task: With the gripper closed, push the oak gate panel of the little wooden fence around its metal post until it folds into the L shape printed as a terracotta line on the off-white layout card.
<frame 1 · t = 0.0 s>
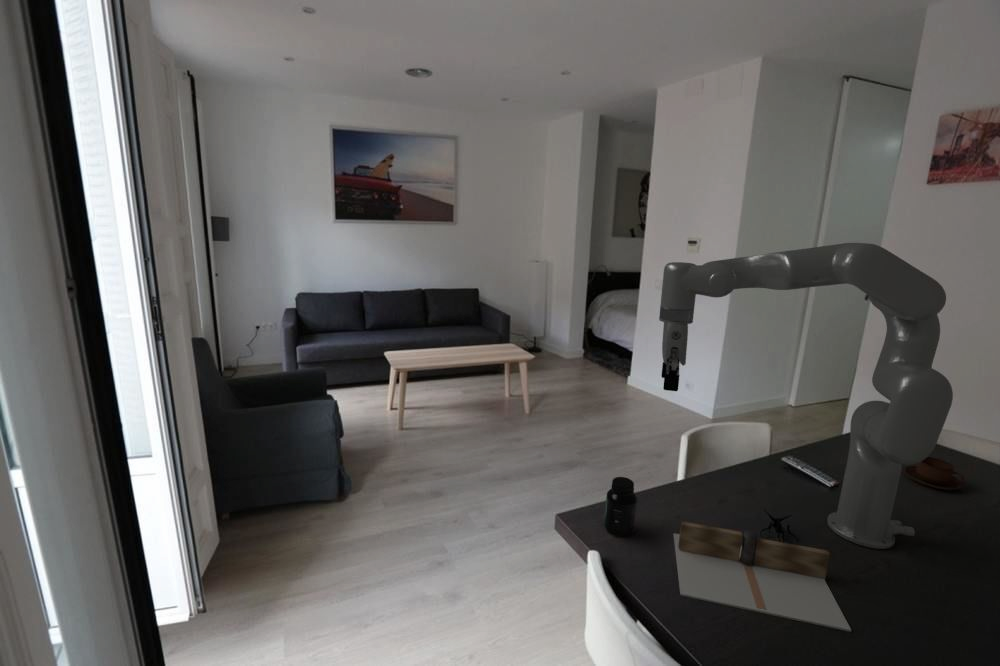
hand: (669, 384, 115), 31 cm above the table, tool pointing down, fingers open, 9 cm apart
cup and saucer: (931, 483, 133), on the table
creature: (777, 538, 107), on the table
gate panel: (709, 540, 99), point 4 cm above the table, hinge at 0.0°
fence: (746, 563, 98), resting on layout card
layout card: (750, 576, 94), on the table
supplement bottle: (619, 529, 109), on the table
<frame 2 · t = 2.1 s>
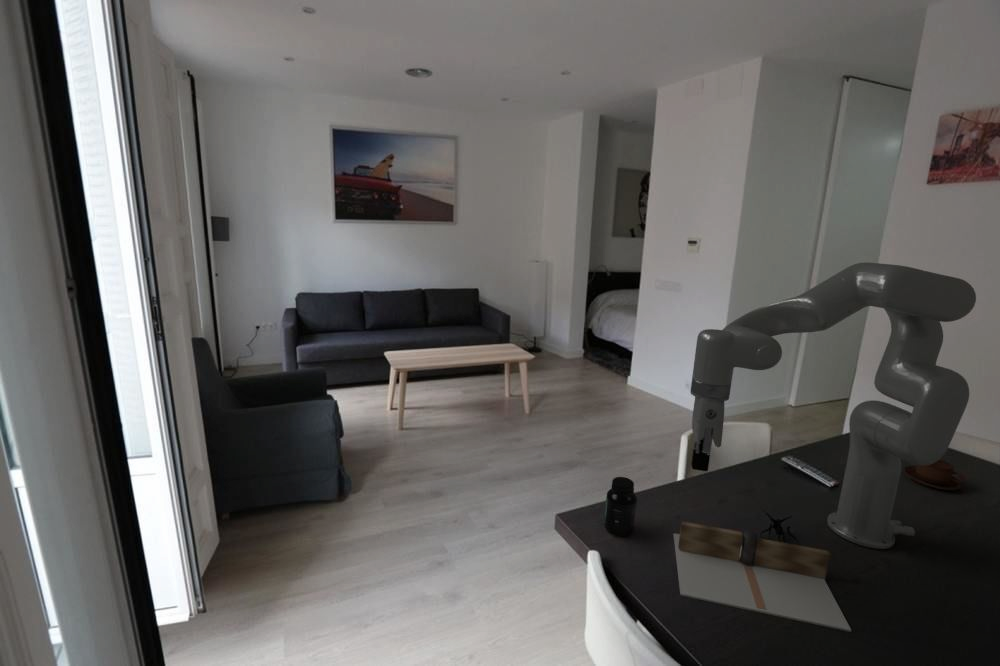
hand: (699, 468, 102), 17 cm above the table, tool pointing down, fingers closed
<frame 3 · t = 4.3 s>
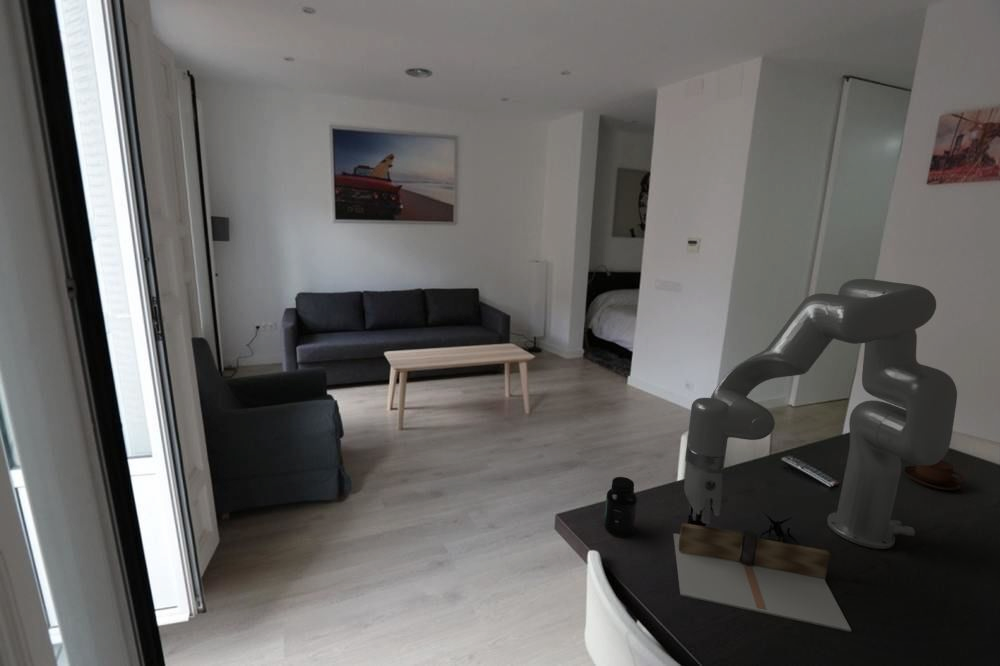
hand: (695, 533, 103), 3 cm above the table, tool pointing down, fingers closed
gate panel: (709, 541, 99), point 4 cm above the table, hinge at 2.5°, touching gripper
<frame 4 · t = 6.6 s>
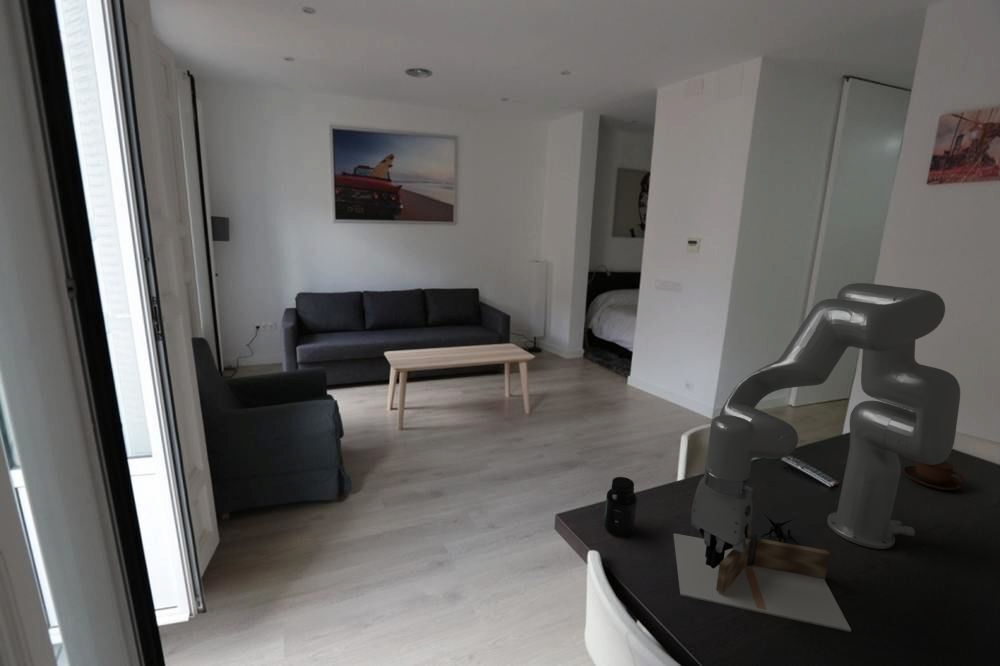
hand: (713, 563, 93), 3 cm above the table, tool pointing down, fingers closed
gate panel: (733, 564, 92), point 4 cm above the table, hinge at 58.6°, touching gripper
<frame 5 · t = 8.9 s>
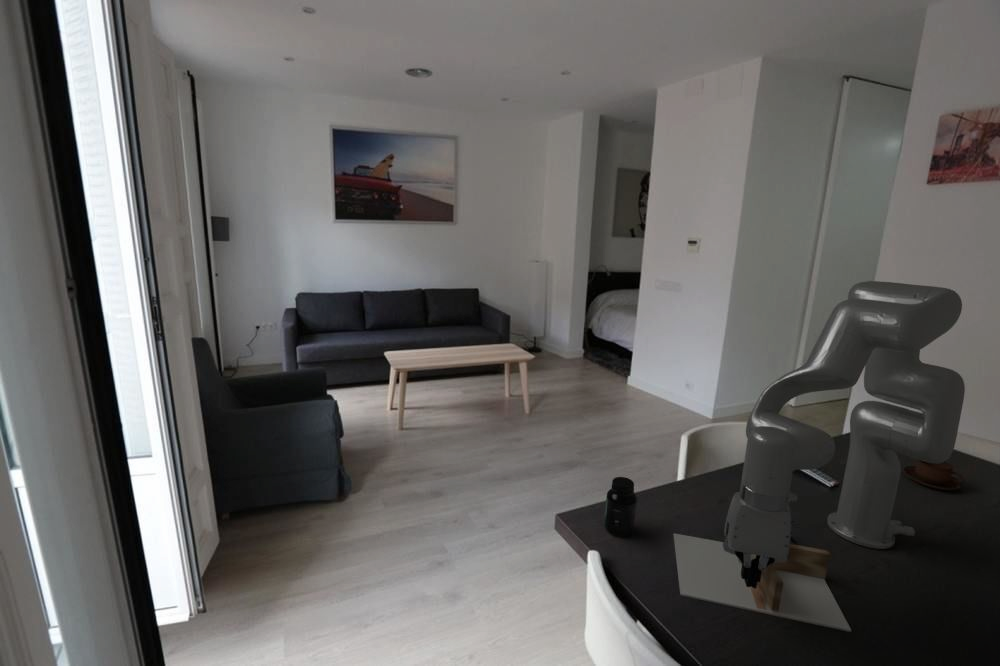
hand: (749, 582, 89), 3 cm above the table, tool pointing down, fingers closed
gate panel: (763, 573, 90), point 4 cm above the table, hinge at 99.0°
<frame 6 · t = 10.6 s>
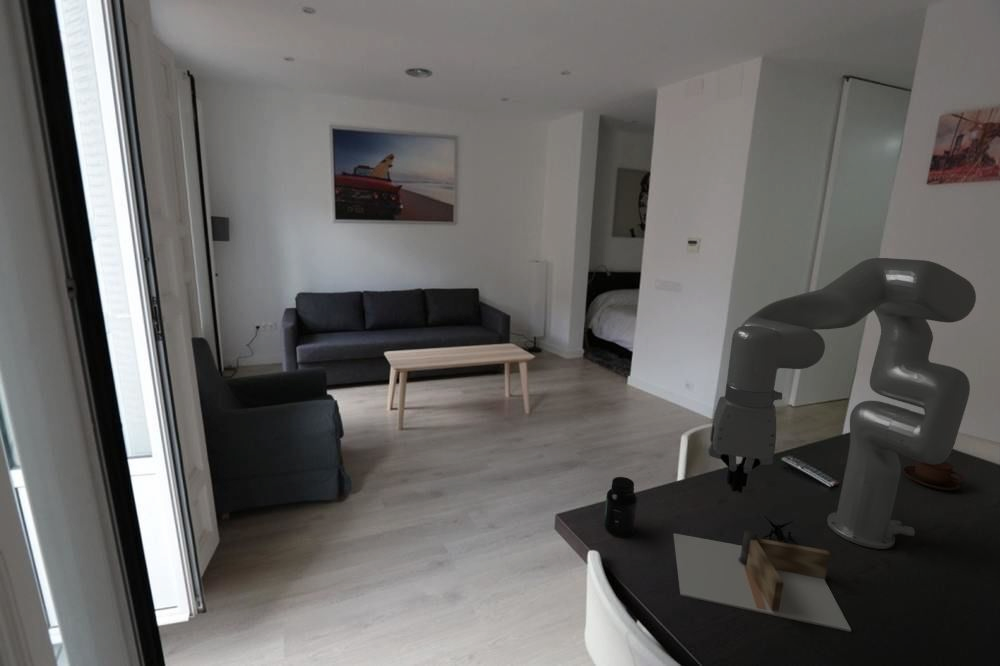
hand: (735, 488, 88), 21 cm above the table, tool pointing down, fingers closed
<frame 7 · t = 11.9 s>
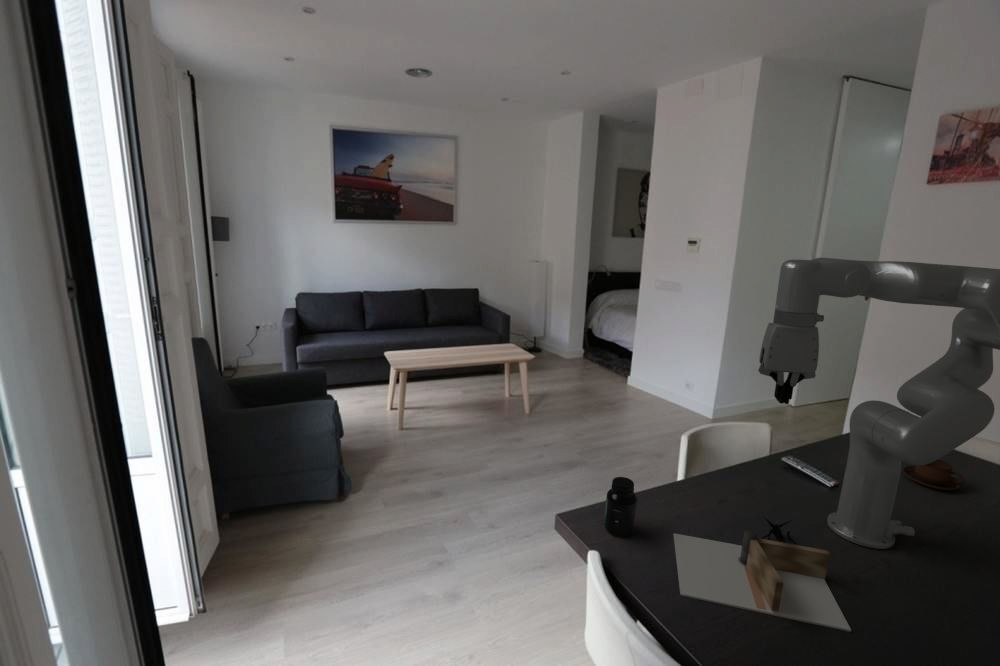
hand: (782, 401, 103), 32 cm above the table, tool pointing down, fingers closed
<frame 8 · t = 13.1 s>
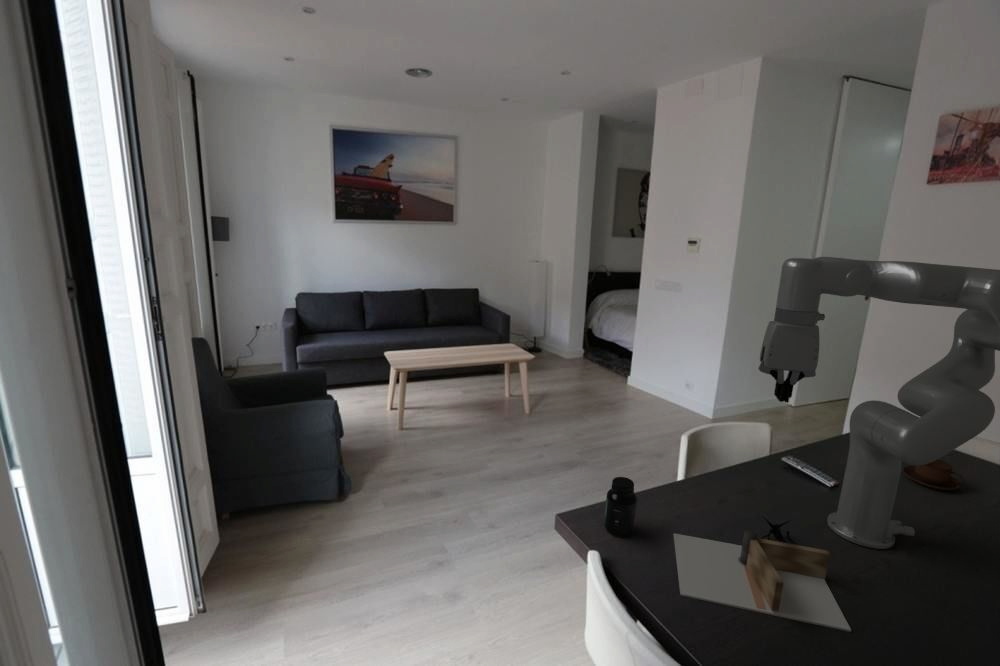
hand: (782, 399, 103), 32 cm above the table, tool pointing down, fingers closed
at the end: gate panel at +99° (first picture: +0°) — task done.
